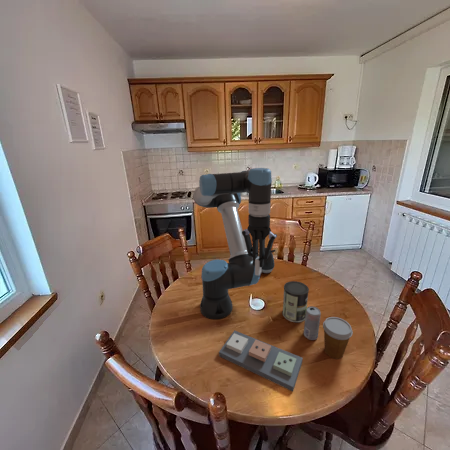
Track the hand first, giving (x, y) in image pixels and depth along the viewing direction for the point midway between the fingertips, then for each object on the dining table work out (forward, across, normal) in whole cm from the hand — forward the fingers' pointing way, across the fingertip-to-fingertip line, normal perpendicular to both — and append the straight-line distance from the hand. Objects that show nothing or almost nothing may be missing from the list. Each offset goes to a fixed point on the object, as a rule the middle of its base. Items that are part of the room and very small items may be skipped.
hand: (258, 273), depth 90 cm
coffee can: (+27, +11, +16) cm, 33 cm away
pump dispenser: (+27, -14, +46) cm, 55 cm away
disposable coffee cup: (+27, +29, +3) cm, 39 cm away
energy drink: (+27, +20, +7) cm, 34 cm away
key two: (+25, +7, -13) cm, 29 cm away
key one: (+26, -2, -13) cm, 29 cm away
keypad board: (+26, +6, -13) cm, 30 cm away
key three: (+26, +16, -13) cm, 33 cm away
